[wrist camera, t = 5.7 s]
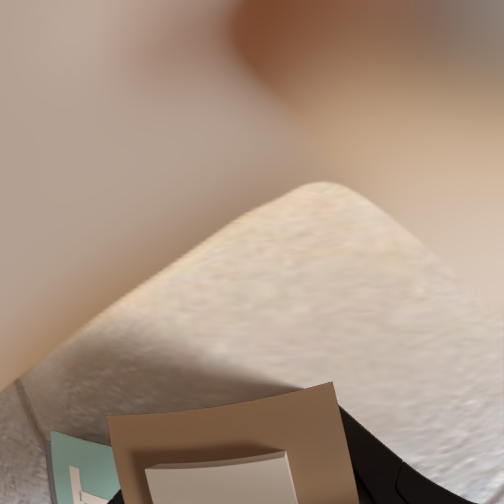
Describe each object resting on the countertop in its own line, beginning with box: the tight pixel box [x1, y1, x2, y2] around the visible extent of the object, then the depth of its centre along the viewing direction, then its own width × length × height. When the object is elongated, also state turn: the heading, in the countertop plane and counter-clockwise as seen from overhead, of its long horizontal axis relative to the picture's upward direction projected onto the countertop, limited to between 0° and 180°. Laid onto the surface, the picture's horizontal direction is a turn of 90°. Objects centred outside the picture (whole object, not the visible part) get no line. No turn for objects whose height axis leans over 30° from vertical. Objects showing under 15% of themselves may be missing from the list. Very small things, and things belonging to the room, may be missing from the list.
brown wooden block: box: [106, 382, 359, 504], centre depth 8 cm, size 4×4×12 cm
